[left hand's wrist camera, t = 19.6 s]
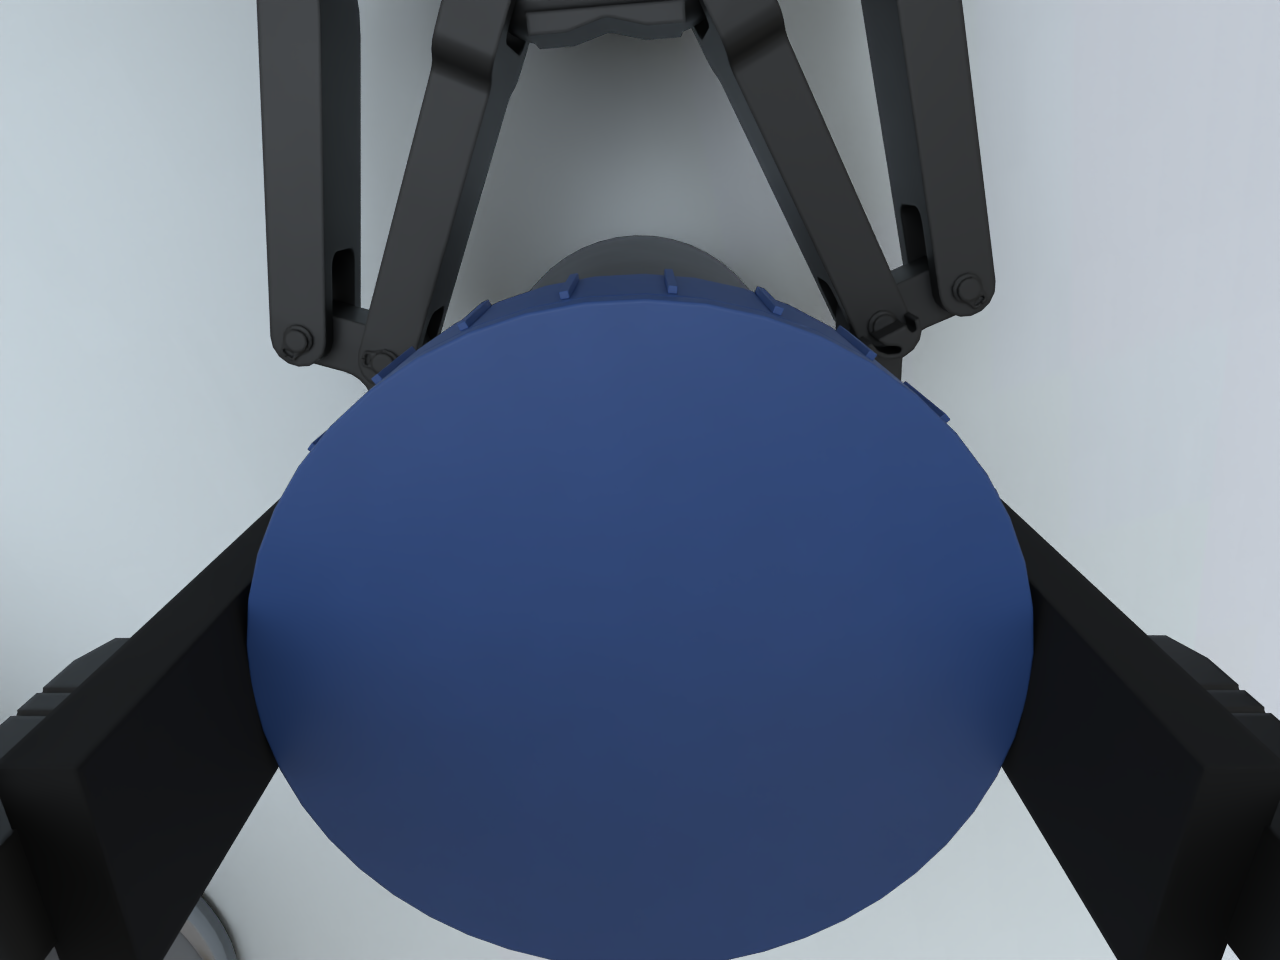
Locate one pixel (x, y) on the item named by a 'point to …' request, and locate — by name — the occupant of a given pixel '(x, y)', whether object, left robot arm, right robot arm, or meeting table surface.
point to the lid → (640, 624)
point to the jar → (640, 261)
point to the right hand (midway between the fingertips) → (653, 600)
